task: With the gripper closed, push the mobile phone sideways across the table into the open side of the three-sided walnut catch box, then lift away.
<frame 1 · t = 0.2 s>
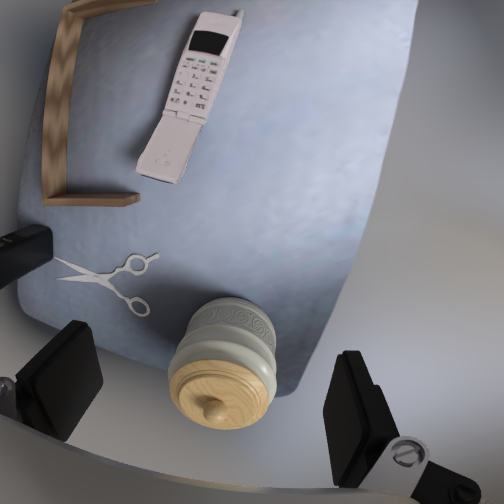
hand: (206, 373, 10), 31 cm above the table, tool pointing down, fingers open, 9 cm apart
mobile phone: (199, 87, 35), on the table
wine bottle: (43, 241, 43), on the table
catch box: (101, 95, 35), on the table
jar: (232, 333, 45), on the table
scissors: (102, 275, 44), on the table
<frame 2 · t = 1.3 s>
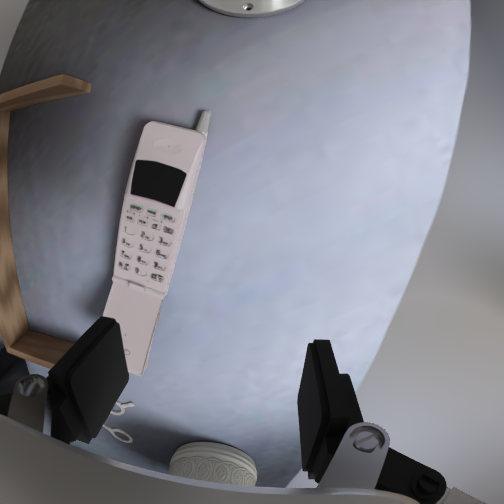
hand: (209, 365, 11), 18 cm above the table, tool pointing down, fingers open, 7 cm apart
mobile phone: (155, 236, 29), on the table
wine bottle: (18, 363, 36), on the table
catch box: (41, 229, 29), on the table
jar: (214, 462, 38), on the table
scissors: (82, 404, 37), on the table
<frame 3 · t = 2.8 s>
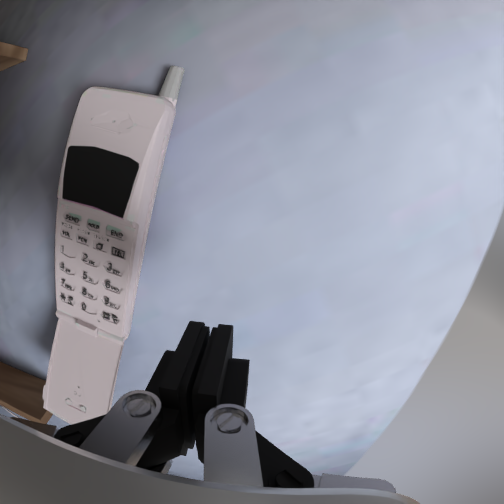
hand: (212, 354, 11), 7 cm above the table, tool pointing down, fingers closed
mobile phone: (109, 256, 19), on the table
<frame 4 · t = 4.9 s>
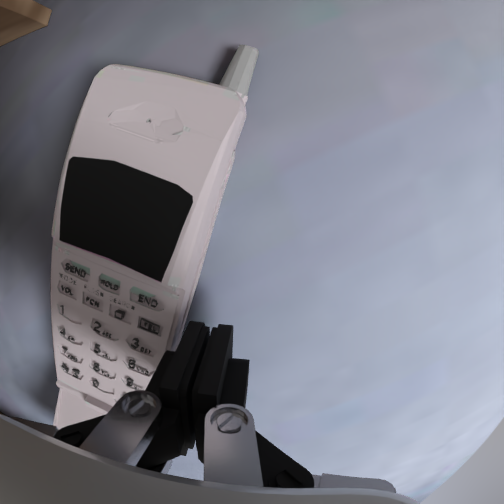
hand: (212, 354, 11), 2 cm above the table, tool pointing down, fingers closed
mobile phone: (128, 314, 14), on the table, touching gripper
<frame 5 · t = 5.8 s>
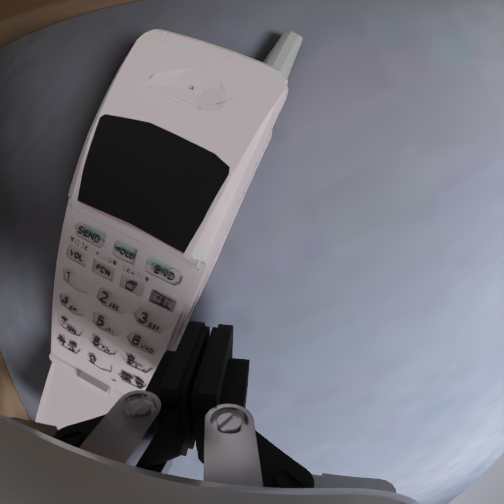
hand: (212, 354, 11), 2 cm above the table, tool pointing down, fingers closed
mobile phone: (134, 289, 14), on the table, touching gripper
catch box: (36, 296, 13), on the table
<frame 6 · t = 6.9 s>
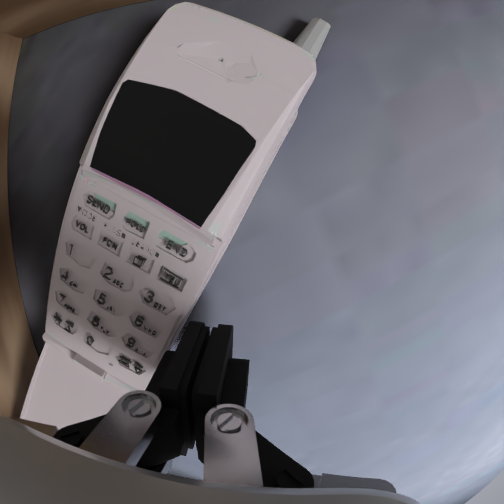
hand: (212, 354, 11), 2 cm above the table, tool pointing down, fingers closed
mobile phone: (138, 269, 13), on the table, touching gripper
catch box: (104, 316, 13), on the table
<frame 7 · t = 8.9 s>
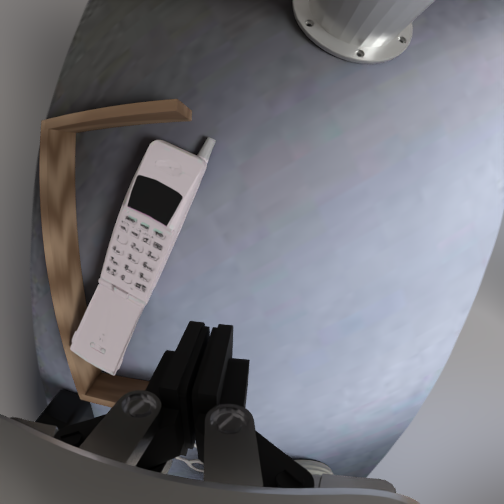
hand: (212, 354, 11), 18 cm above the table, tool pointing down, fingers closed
mobile phone: (144, 247, 30), on the table
wine bottle: (78, 404, 36), on the table
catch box: (126, 268, 30), on the table
jar: (293, 478, 38), on the table
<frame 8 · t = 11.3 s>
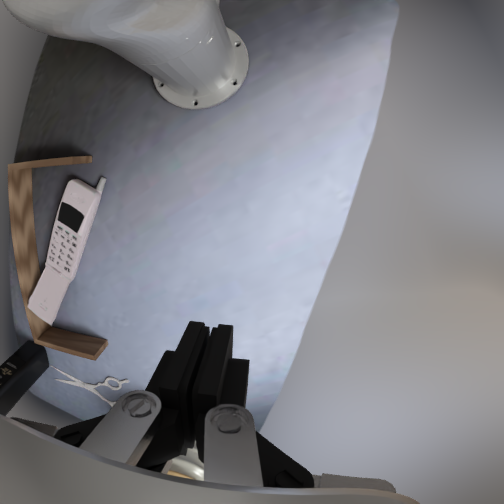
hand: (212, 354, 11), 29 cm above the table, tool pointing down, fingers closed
mobile phone: (72, 244, 42), on the table
wine bottle: (39, 352, 50), on the table
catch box: (61, 255, 43), on the table
jar: (189, 429, 52), on the table
scissors: (89, 383, 51), on the table
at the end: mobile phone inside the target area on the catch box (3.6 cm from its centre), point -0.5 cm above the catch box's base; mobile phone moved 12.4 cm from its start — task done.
